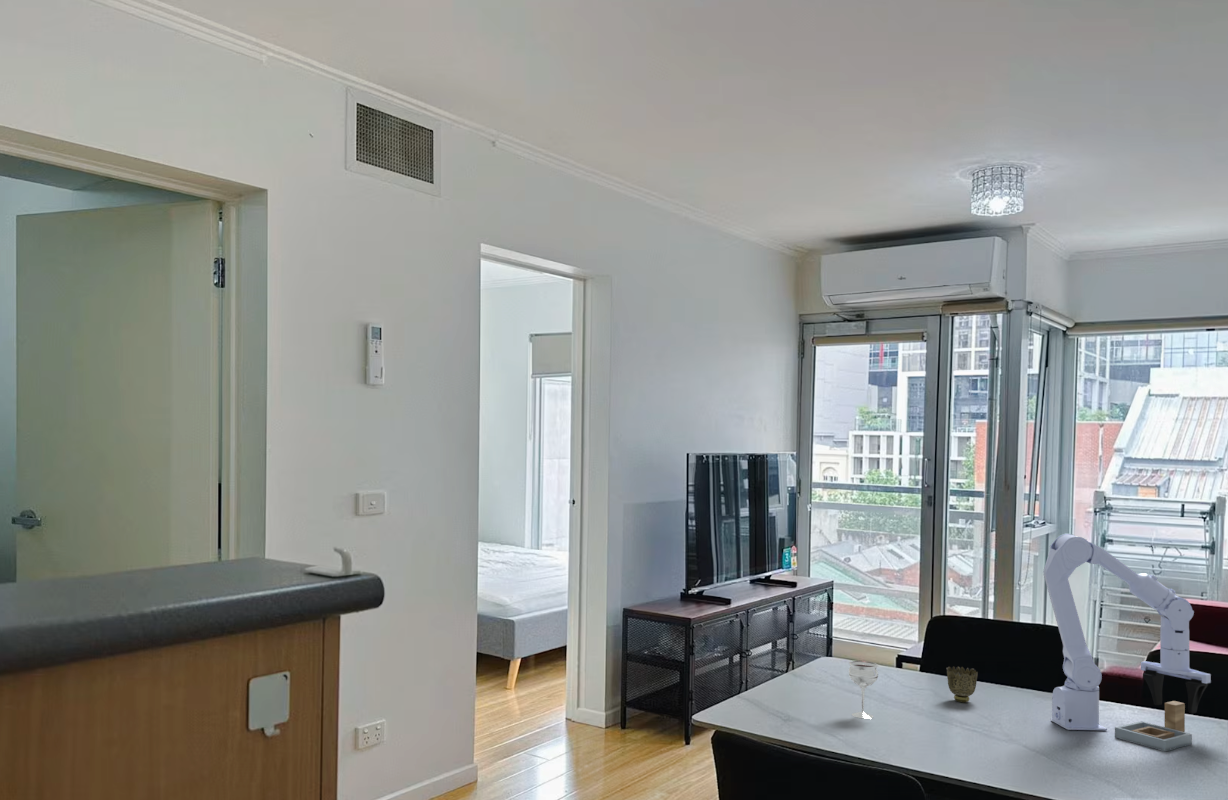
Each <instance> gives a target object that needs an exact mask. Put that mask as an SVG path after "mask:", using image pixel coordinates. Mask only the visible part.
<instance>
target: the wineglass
mask: <svg viewBox="0 0 1228 800" xmlns="http://www.w3.org/2000/svg"><path fill="white" fill-rule="evenodd" d="M849 666H850V667H849V668H848V676H849V678H850V680H851V681H852V682H853V683H854V684H856V685H857V686H858V687H859V688H860V689H861V690H860V691H861V694H860V695H861V711H858V712H852V713H851V716H853V717H854V718H857V719H873V718H874V716H873V714H871V713H868V712H865V711H864V709H865V691H866V689H867V687H869V686H872V685H873V684H874V683H875V682H876V681H877V680H878V677H879V672H878V671H879V670H878V667H879V664H877V663H876V662H872V661H867V660H852V661H851V660H850V661H849Z"/></svg>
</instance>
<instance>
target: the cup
mask: <svg viewBox="0 0 1228 800" xmlns="http://www.w3.org/2000/svg"><path fill="white" fill-rule="evenodd" d="M945 670H946V676H947V683H948V689H949V690H950V693H952V694H953V698H954V700H955V701H956V702H958V703H965V704H966V703H968V702H969V701H970V697H971V696H972V695H974V693H975V691H976V687H977V683H978V681H977V680H978V673H979V672H978V671H977V670H976V669H975V668H969V667H967V668H966V669H965V668H964V667H963V666H961V667H960V666H957V667H955V666H948V667H946V668H945Z"/></svg>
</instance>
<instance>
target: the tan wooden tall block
mask: <svg viewBox="0 0 1228 800" xmlns="http://www.w3.org/2000/svg"><path fill="white" fill-rule="evenodd" d="M1185 704H1186V703H1184V702H1180V701H1176V700H1172V701H1167V702H1164V727H1166V728H1170V729H1174V730H1178V731H1182V732H1186V731H1185V730H1186V727H1185V722H1186V720H1185V719H1186V717H1185V716H1186V715H1185V714H1186V713H1185V710H1186V709H1185V708H1186V705H1185Z"/></svg>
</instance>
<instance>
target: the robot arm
mask: <svg viewBox="0 0 1228 800" xmlns="http://www.w3.org/2000/svg"><path fill="white" fill-rule="evenodd" d="M1048 551H1049V552H1048V556H1047V558H1046V562H1045V564H1044V568H1043V572H1042V573H1043V576H1044V577H1043V578H1044V581H1045V585H1046V588H1047V592H1048V595H1049V598H1050V603H1051V606H1052V609H1053V613H1054V617H1055V620H1056V625H1057V627H1058V632H1059V634H1060V639H1061V642H1062V655H1063V658H1064V659H1063V664H1062V669H1063V670H1062V671H1063V672H1064V673H1063V674H1064V675H1065V676H1066V677H1067V678H1066V679H1065V681H1064V685H1062V686H1056V687H1054V689H1053V691H1052V694H1051V695H1052V696H1051V697H1052V699H1051V700H1052V701H1051V702H1052V703H1051V705H1052V706H1051V708H1052V709H1051V718H1050V721H1051V722H1053V723H1055V724H1056V725H1059V726H1060V727H1062V728H1064V729H1066V730H1069V731H1077V730H1078V731H1107V730H1108V729H1107V727H1105V726H1103V725H1101V724H1100V687H1099V685H1100V684H1101V682H1102V679H1103V678H1102V677H1103V676H1102V675H1103V674H1102V671H1101V669H1100V668H1099V667H1098V666H1097V664H1096V663H1095V662H1094V659H1093V655H1092V654H1091V652H1090V649H1089V647H1088V645H1087V641H1086V639H1085V635H1084V631H1083V629H1082V625H1081V621H1080V617H1079V613H1078V610H1077V606H1076V602H1075V600H1074V595H1073V592H1072V589H1071V585H1070V582H1069V578H1070V577H1071V575H1072V574H1073V573H1074V571H1075V570H1076V569H1077V568H1078V567H1081V566H1082V565H1083V564H1085V563H1089V564H1091V565H1098V566H1100V567H1102V568H1103V569H1105V570H1106V571H1108V572H1109V573H1111V574H1112V575H1114V576H1116V577H1117V578H1118V579H1120V580H1121V581H1123V582H1125V583H1126V584H1127V586H1128V589H1129V593H1130V594H1132V595H1133V596H1135V597H1136V598H1138V599H1139V600H1140V601H1142V602H1143V603H1145V604H1146V605H1147V606H1149V607H1150V608H1152V609H1153V610H1154V611H1155V610H1156V612H1157V614H1158V615H1160V631H1159V632H1160V637H1159V638H1160V640H1159V641H1160V646H1159V647H1160V649H1159V650H1160V659H1159V660H1160V663H1159V662H1155V661H1153V662H1152V661H1148V660H1147V661H1146V660H1143V661H1141V662H1140V671H1144V672H1143V673H1142V677H1143V679H1144V680H1145V682H1146V684H1147V687H1148V689H1149V691H1150V693H1151V697H1152V700H1153V706H1154V705H1155V706H1161V705H1162V704H1163V685H1164V679H1165V676H1170V677H1176V678H1181V679H1185V680H1188V681H1185V683H1184V684H1185V686H1186V687H1185V688H1186V691H1187V704H1188V705H1187V709H1188V714H1192V715H1193V714H1196V713H1197V711H1198V706H1199V704H1200V701H1201V698H1202V696H1203V694H1204V692H1205V691H1206V689H1207V688H1208V686H1209V684H1211V683H1212V680H1211V676H1212V674H1211V673H1207V672H1204V671H1199V670H1197V669H1193V668H1190V621H1191V620H1192V618H1193V617H1194V615H1195V614H1194V613H1195V610H1193V607H1192V605H1191V603H1190V602H1189V601H1188V600H1187V599H1186V598H1183V597H1181V596H1178V595H1177V592H1176V590H1175V589H1173V588H1168V587H1167V586H1165V585H1164V584H1162V583H1161V582H1160V581H1158V577H1157V576H1155V575H1154V574H1151V573H1150V574H1148V573H1145V572H1143V573H1136V571H1134V570H1132V569H1131V568H1130V567H1128V566H1127V565H1126V564H1124V562H1122V561H1120V559H1118V558H1116V557H1115V556H1113V555H1112V554H1111V553H1109V551H1107V550H1106V549H1105V548H1102V547H1101V546H1100V545H1099V546H1098V545H1096V544H1095V543H1093V542H1090V541H1088V540H1087V539H1086V538H1085V537H1082V536H1076V535H1075V534H1072V533H1063V534H1060V535H1059V536H1057V537H1056V538H1055V539H1054V541H1052V542H1051V544H1050V545H1049V550H1048Z"/></svg>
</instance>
